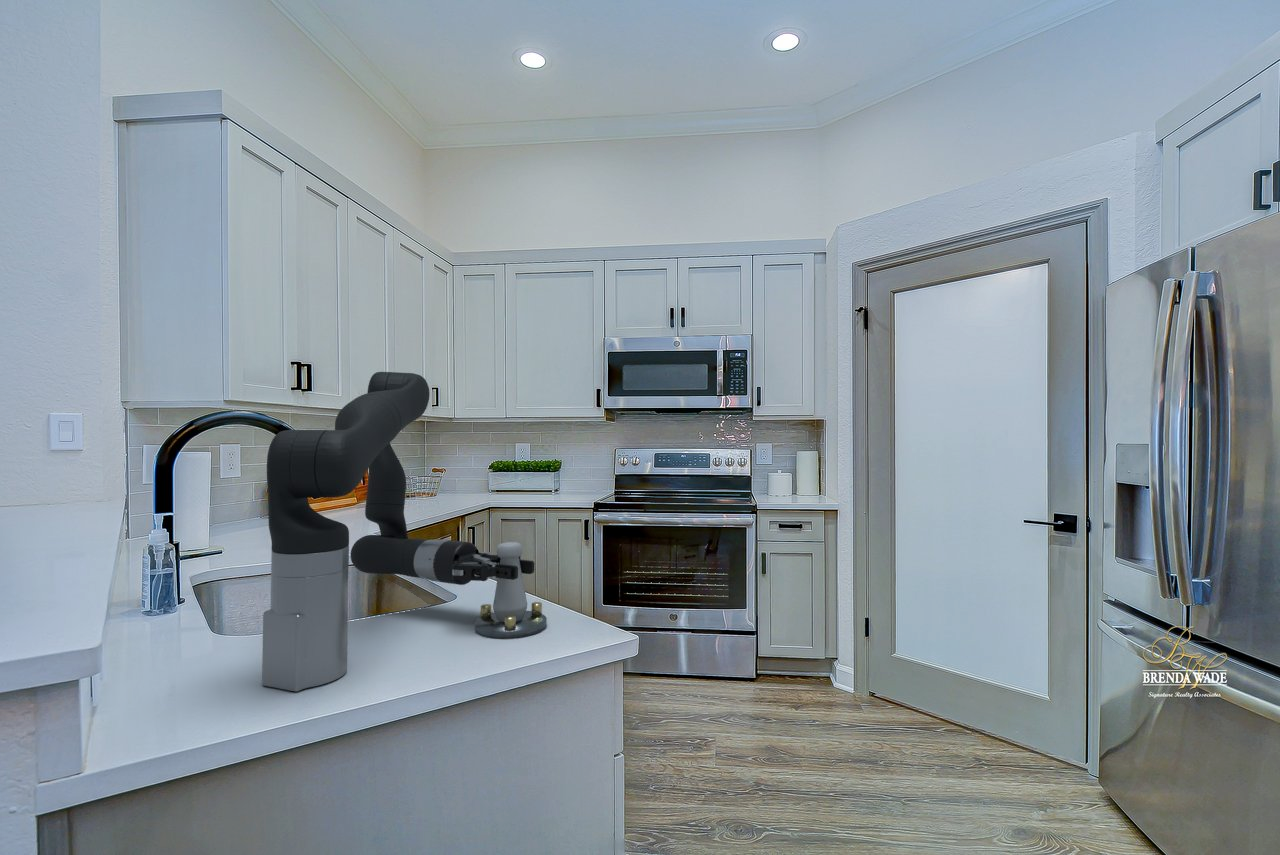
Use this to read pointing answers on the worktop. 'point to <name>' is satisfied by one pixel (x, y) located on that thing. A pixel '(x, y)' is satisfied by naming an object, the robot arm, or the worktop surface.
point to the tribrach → (510, 623)
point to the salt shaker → (510, 585)
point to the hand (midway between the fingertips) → (524, 570)
